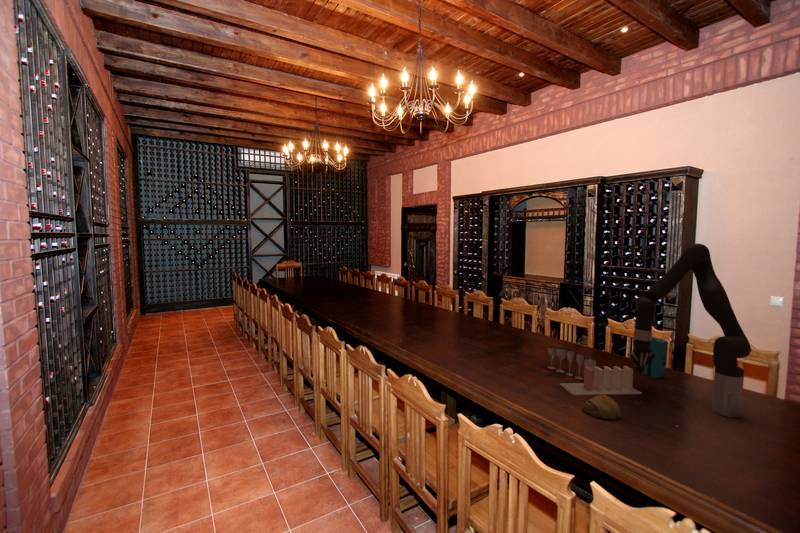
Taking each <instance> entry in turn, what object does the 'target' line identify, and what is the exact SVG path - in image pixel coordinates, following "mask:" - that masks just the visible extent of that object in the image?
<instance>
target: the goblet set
mask: <svg viewBox="0 0 800 533" xmlns="http://www.w3.org/2000/svg"><path fill="white" fill-rule="evenodd" d="M547 354H548V356H549V357H550V364H551V365H548V366H547V369H550V370H555V372H557V373H562V374H564V373H565V370H563V369H562V361H563V360H564V359H565V358H566V359H567V362H568V368H569V371H568V372H566V373H565V375H566V376H569V377H573V376H574V374H573V373H571V364H572V363H573V361H574V358H575V351H574V350H572V349H567V348H566V347H562V346H553V345H552V346H548V348H547ZM584 356H585V355H584V354H583V353H581V352H580V353H579V352H578V353H576V360H575V361H576V363H577V365H578V375H580V370H581V367H582V365H583V367H584V368H585V367H589V368H591V369H592V370H594V367H597V361H596V359H595V358H594V357H585V358H584ZM555 357H557V358H558V361H559V369H556V367H554V366H553V360H554V358H555ZM574 379H576V380H584V377H581V376H575V377H574Z"/></svg>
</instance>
